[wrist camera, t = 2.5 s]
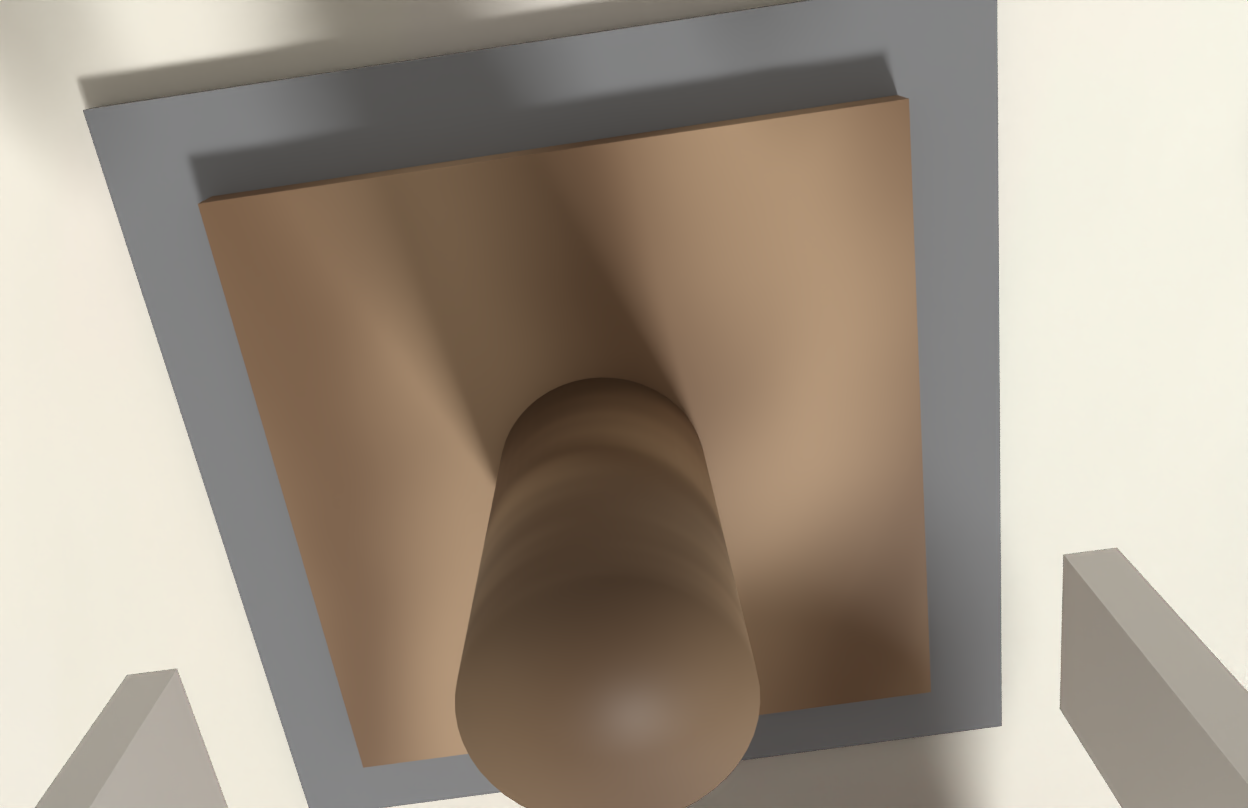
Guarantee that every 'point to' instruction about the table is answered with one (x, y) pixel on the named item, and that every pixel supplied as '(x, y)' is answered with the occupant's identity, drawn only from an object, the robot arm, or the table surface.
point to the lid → (599, 441)
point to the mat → (555, 115)
